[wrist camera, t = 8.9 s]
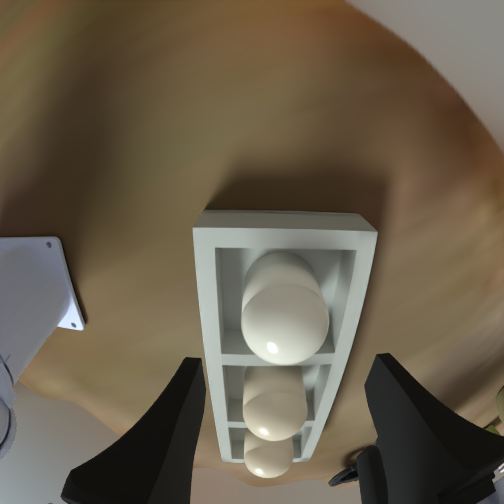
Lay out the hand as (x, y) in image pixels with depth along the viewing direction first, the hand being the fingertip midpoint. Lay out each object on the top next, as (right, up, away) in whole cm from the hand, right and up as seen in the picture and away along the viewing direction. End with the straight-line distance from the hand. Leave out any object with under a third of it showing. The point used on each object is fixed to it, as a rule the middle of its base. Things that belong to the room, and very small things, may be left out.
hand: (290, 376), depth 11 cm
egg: (0, +3, +7) cm, 7 cm away
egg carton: (0, -4, +10) cm, 11 cm away
